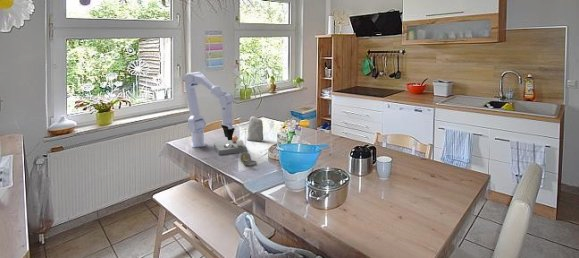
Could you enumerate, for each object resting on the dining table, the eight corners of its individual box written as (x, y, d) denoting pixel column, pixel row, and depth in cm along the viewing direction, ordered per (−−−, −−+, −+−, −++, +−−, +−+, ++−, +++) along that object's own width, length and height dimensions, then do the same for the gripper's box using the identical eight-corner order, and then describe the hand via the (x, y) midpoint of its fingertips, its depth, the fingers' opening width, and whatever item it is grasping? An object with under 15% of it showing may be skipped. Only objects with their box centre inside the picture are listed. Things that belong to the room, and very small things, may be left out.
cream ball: (235, 145, 217) (235, 139, 216) (242, 144, 218) (242, 138, 217) (237, 147, 213) (237, 140, 212) (244, 146, 215) (243, 139, 214)
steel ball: (225, 150, 217) (224, 143, 217) (232, 149, 219) (231, 142, 218) (225, 151, 214) (225, 144, 213) (232, 151, 215) (232, 144, 214)
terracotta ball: (230, 141, 225) (230, 135, 224) (237, 140, 226) (236, 134, 225) (232, 143, 221) (231, 136, 220) (238, 142, 223) (238, 136, 222)
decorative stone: (265, 140, 236) (264, 117, 232) (259, 142, 231) (258, 118, 228) (251, 137, 242) (250, 115, 238) (245, 140, 237) (244, 117, 233)
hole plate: (213, 146, 224) (213, 142, 223) (239, 143, 230) (239, 139, 229) (218, 154, 209) (218, 150, 208) (246, 151, 214) (246, 147, 214)
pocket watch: (256, 161, 196) (256, 143, 194) (256, 167, 188) (255, 148, 186) (241, 162, 196) (240, 144, 194) (239, 167, 188) (238, 148, 185)
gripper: (237, 117, 206) (238, 140, 209) (231, 112, 219) (232, 134, 222) (224, 118, 203) (225, 142, 207) (219, 113, 216) (220, 135, 220)
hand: (228, 138), depth 214 cm, fingers open, 7 cm apart
